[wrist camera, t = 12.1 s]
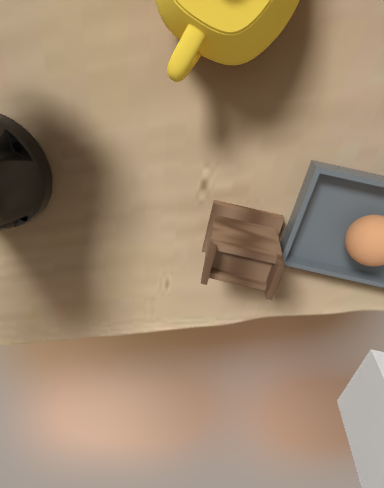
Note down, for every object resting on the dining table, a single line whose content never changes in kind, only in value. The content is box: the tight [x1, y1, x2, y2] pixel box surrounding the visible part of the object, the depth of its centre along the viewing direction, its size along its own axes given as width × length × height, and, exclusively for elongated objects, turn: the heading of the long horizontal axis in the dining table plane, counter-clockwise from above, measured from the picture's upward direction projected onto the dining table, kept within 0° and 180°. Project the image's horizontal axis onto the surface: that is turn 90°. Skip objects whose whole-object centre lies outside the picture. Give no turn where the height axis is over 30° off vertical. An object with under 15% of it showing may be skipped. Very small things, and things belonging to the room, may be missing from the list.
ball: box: [345, 215, 384, 266], centre depth 39 cm, size 6×6×6 cm
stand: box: [201, 200, 285, 300], centre depth 40 cm, size 9×7×10 cm
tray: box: [280, 160, 384, 288], centre depth 41 cm, size 18×13×3 cm
